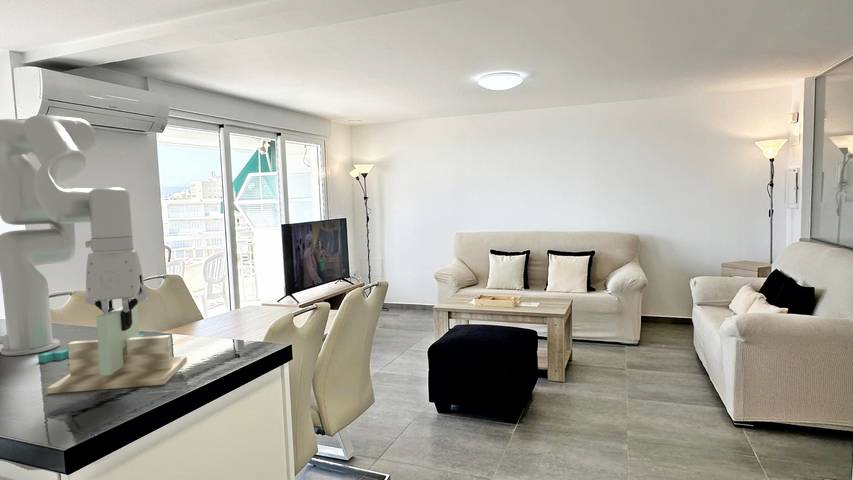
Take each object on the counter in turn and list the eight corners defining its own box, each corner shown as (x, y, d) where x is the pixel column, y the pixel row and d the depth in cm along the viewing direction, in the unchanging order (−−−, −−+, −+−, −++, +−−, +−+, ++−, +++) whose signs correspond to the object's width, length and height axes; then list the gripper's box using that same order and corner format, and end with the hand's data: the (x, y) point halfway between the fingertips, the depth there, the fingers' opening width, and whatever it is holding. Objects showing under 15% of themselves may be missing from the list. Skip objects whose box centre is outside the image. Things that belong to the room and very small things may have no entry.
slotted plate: (131, 355, 122) (128, 304, 121) (140, 355, 122) (137, 303, 122) (99, 375, 106) (96, 316, 106) (110, 374, 106) (106, 315, 106)
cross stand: (47, 393, 105) (44, 353, 104) (86, 368, 121) (83, 333, 120) (164, 384, 109) (161, 345, 108) (186, 361, 124) (184, 327, 124)
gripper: (63, 248, 108) (70, 336, 109) (146, 245, 110) (152, 331, 111) (81, 245, 115) (88, 328, 116) (158, 242, 117) (164, 323, 119)
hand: (119, 329), depth 114 cm, fingers closed on slotted plate, 2 cm apart
